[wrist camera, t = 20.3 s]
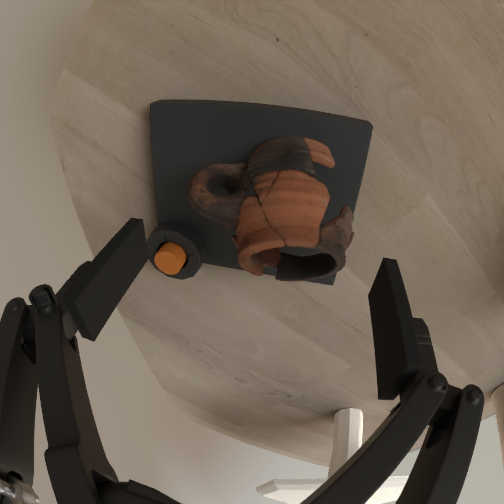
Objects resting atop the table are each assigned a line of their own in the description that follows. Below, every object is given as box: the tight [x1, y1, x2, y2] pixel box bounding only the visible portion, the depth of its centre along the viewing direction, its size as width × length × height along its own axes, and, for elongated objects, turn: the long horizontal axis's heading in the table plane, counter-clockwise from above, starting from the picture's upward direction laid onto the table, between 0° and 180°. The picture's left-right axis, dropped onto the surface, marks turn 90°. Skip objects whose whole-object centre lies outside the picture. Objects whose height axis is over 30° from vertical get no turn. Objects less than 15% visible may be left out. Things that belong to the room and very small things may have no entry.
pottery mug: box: [188, 136, 354, 281], centre depth 21 cm, size 12×10×8 cm
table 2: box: [256, 408, 409, 504], centre depth 39 cm, size 28×28×17 cm
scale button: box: [154, 242, 186, 275], centre depth 27 cm, size 3×3×2 cm
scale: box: [146, 100, 373, 285], centre depth 25 cm, size 18×16×4 cm
